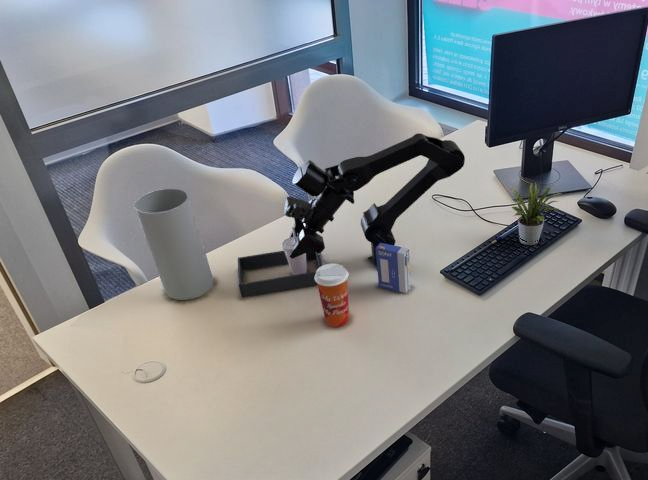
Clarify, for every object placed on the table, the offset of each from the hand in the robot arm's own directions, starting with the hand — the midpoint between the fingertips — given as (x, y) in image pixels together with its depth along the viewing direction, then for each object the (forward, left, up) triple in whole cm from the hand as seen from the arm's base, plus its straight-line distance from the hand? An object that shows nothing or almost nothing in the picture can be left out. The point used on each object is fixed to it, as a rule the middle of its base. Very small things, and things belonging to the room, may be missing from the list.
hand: (289, 250), depth 159 cm
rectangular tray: (+1, +3, -8) cm, 8 cm away
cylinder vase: (+12, +25, -8) cm, 28 cm away
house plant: (-27, -60, -8) cm, 67 cm away
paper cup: (-24, +1, -8) cm, 25 cm away
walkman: (-21, -18, -8) cm, 29 cm away
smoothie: (-1, -1, -8) cm, 8 cm away
